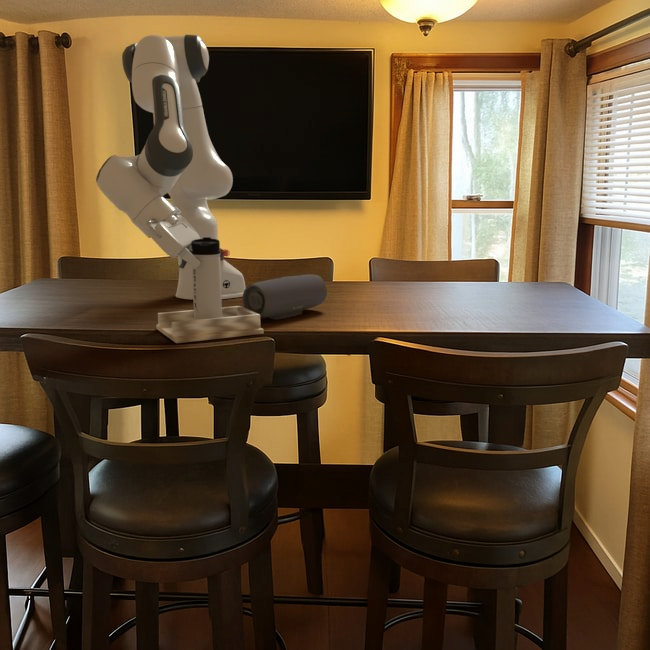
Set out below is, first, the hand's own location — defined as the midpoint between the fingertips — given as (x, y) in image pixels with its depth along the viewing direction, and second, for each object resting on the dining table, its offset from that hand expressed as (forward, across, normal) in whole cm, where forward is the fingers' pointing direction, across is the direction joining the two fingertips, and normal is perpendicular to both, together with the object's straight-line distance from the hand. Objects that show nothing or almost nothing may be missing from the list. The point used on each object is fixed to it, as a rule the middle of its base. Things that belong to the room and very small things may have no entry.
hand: (203, 263), depth 153 cm
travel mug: (+11, 0, +10) cm, 15 cm away
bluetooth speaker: (+23, +18, -1) cm, 29 cm away
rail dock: (+12, 0, +10) cm, 16 cm away
